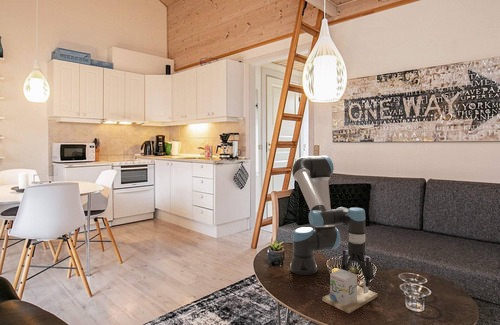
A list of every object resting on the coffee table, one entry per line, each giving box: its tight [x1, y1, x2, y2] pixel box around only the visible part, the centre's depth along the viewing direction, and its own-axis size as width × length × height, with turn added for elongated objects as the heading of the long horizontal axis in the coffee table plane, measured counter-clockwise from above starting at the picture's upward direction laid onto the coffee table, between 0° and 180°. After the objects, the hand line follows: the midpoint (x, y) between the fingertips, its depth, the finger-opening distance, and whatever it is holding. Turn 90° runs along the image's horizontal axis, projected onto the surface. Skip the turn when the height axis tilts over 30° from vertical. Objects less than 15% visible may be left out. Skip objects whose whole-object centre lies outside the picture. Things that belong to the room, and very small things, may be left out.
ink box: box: [329, 268, 358, 306], centre depth 138 cm, size 8×8×12 cm
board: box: [321, 285, 378, 314], centre depth 141 cm, size 14×22×2 cm, turn 127°
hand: (356, 288), depth 145 cm, fingers open, 9 cm apart
